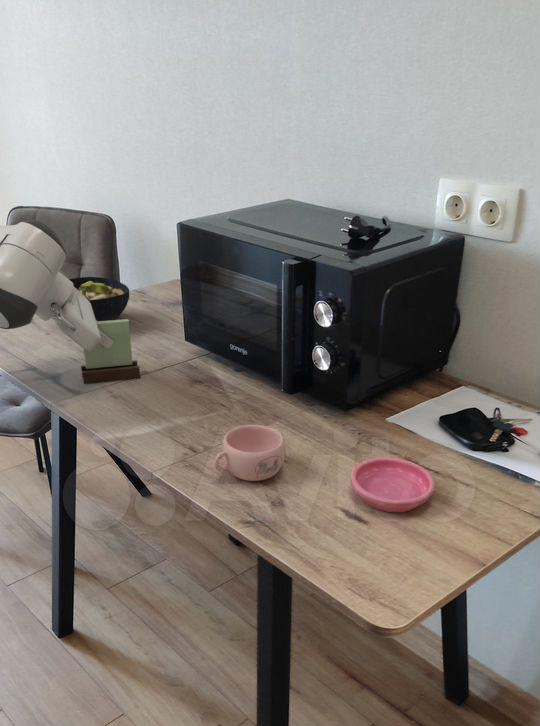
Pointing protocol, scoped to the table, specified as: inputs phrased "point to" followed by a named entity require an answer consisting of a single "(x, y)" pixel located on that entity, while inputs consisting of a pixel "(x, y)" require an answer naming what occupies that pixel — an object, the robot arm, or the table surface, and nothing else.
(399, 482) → the saucer
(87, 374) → the rack
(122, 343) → the green square tile
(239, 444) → the mug
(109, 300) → the bowl
